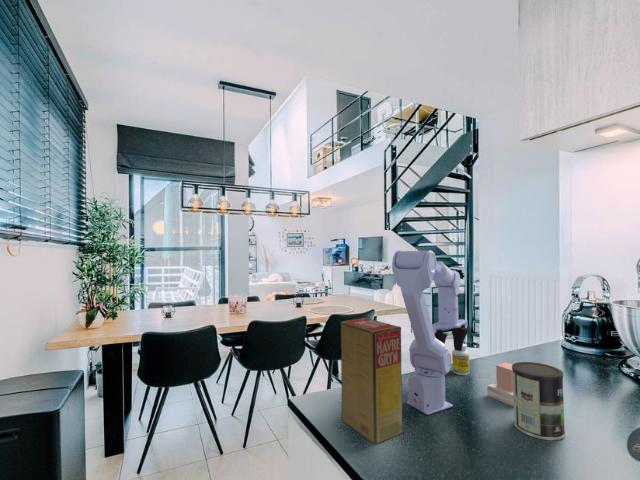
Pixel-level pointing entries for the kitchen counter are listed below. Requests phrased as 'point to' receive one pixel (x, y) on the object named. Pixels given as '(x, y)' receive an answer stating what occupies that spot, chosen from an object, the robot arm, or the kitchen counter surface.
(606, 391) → the kitchen counter surface
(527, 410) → the coffee can
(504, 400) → the base
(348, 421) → the food packaging
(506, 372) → the terracotta block
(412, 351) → the robot arm
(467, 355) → the supplement bottle
